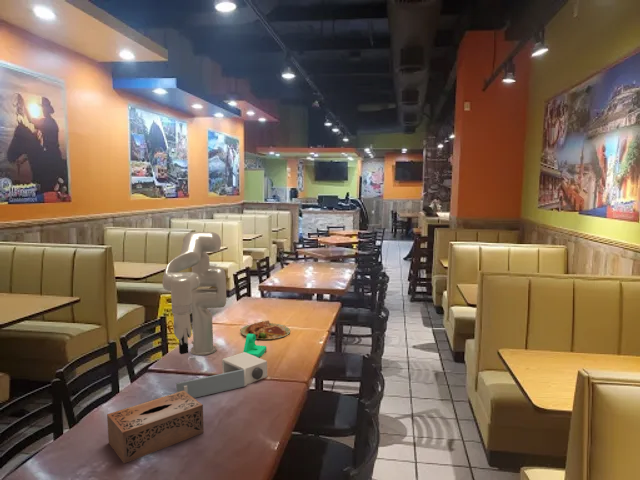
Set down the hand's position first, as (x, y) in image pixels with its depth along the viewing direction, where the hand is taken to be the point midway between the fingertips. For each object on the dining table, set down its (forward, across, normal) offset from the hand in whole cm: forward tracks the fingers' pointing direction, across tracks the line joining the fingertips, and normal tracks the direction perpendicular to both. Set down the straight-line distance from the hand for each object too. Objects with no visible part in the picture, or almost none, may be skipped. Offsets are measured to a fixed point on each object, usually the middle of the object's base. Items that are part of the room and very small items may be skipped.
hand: (183, 352), depth 180 cm
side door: (+16, +8, +9) cm, 20 cm away
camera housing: (+17, -4, +26) cm, 31 cm away
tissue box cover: (+16, +30, -16) cm, 37 cm away
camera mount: (+18, -25, +39) cm, 50 cm away
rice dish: (+19, -54, +56) cm, 80 cm away
